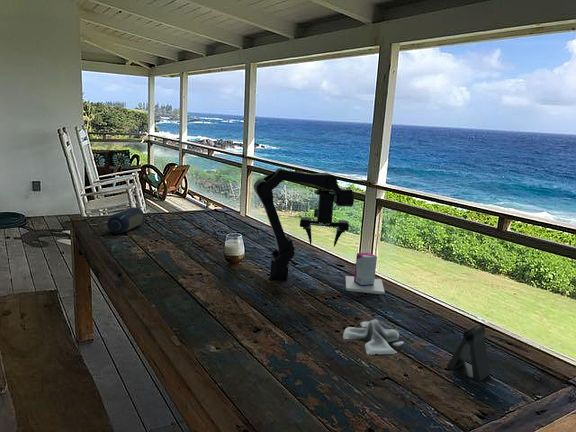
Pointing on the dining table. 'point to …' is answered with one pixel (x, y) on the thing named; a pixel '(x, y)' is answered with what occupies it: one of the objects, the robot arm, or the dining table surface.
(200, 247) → the dining table surface
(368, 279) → the supplement box
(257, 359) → the dining table surface
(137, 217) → the portable speaker
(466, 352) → the phone stand
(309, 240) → the robot arm
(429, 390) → the dining table surface
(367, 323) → the cloth
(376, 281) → the mat
